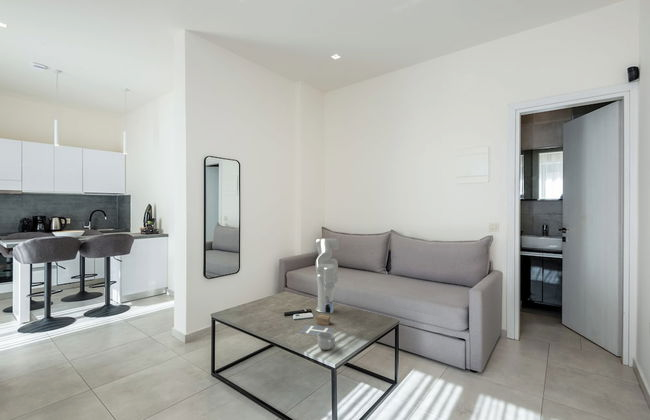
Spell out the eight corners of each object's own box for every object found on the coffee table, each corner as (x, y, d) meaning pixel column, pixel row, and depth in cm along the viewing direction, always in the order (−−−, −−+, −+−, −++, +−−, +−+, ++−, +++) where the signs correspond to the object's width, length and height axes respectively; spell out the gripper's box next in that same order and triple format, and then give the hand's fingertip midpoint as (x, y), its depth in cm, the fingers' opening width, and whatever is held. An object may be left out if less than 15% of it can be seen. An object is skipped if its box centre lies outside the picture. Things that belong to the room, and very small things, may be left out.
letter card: (306, 324, 225) (306, 324, 225) (334, 328, 219) (334, 328, 219) (299, 332, 212) (299, 332, 212) (328, 336, 206) (328, 336, 206)
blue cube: (326, 309, 216) (326, 302, 216) (333, 310, 214) (333, 303, 214) (324, 312, 211) (324, 305, 211) (331, 313, 210) (331, 305, 209)
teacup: (317, 343, 196) (317, 331, 196) (334, 343, 197) (334, 330, 197) (318, 354, 182) (318, 341, 182) (336, 354, 183) (336, 340, 183)
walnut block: (318, 321, 233) (318, 314, 232) (330, 322, 230) (330, 316, 230) (316, 323, 228) (316, 317, 228) (328, 325, 225) (328, 318, 225)
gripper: (327, 281, 221) (326, 306, 222) (320, 287, 205) (320, 314, 206) (337, 282, 219) (337, 307, 220) (331, 288, 203) (331, 316, 203)
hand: (328, 310), depth 213 cm, fingers closed on blue cube, 5 cm apart
